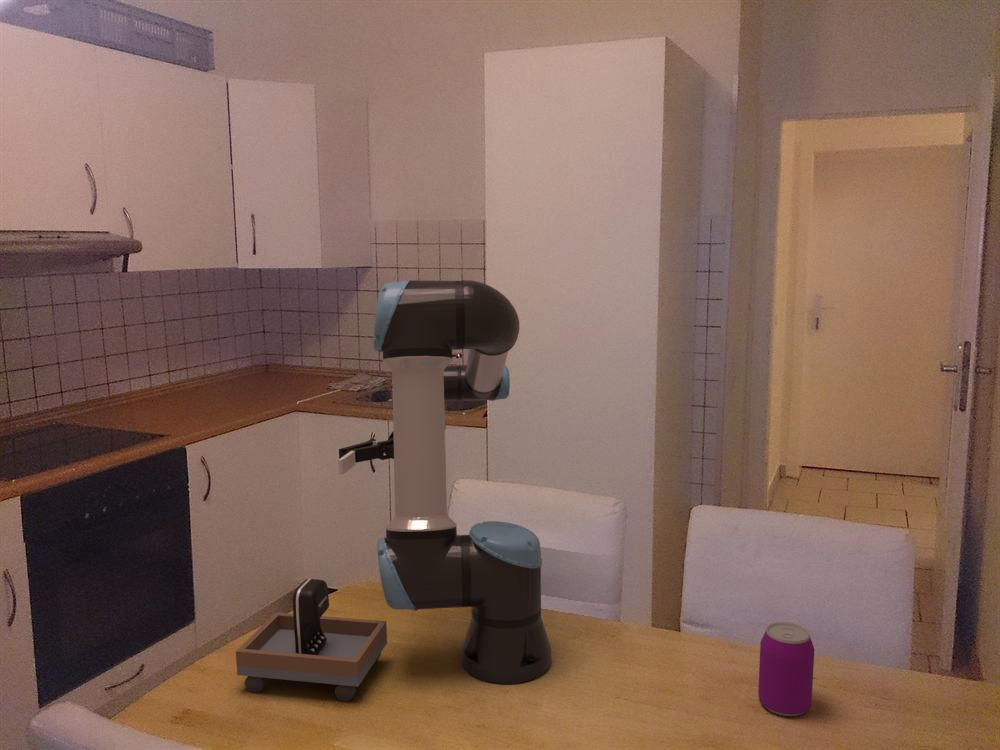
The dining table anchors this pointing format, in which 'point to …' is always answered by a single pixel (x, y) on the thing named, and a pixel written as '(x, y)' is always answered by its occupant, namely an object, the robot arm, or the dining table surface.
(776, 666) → the beverage can
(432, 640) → the dining table surface
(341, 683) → the tray
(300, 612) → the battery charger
